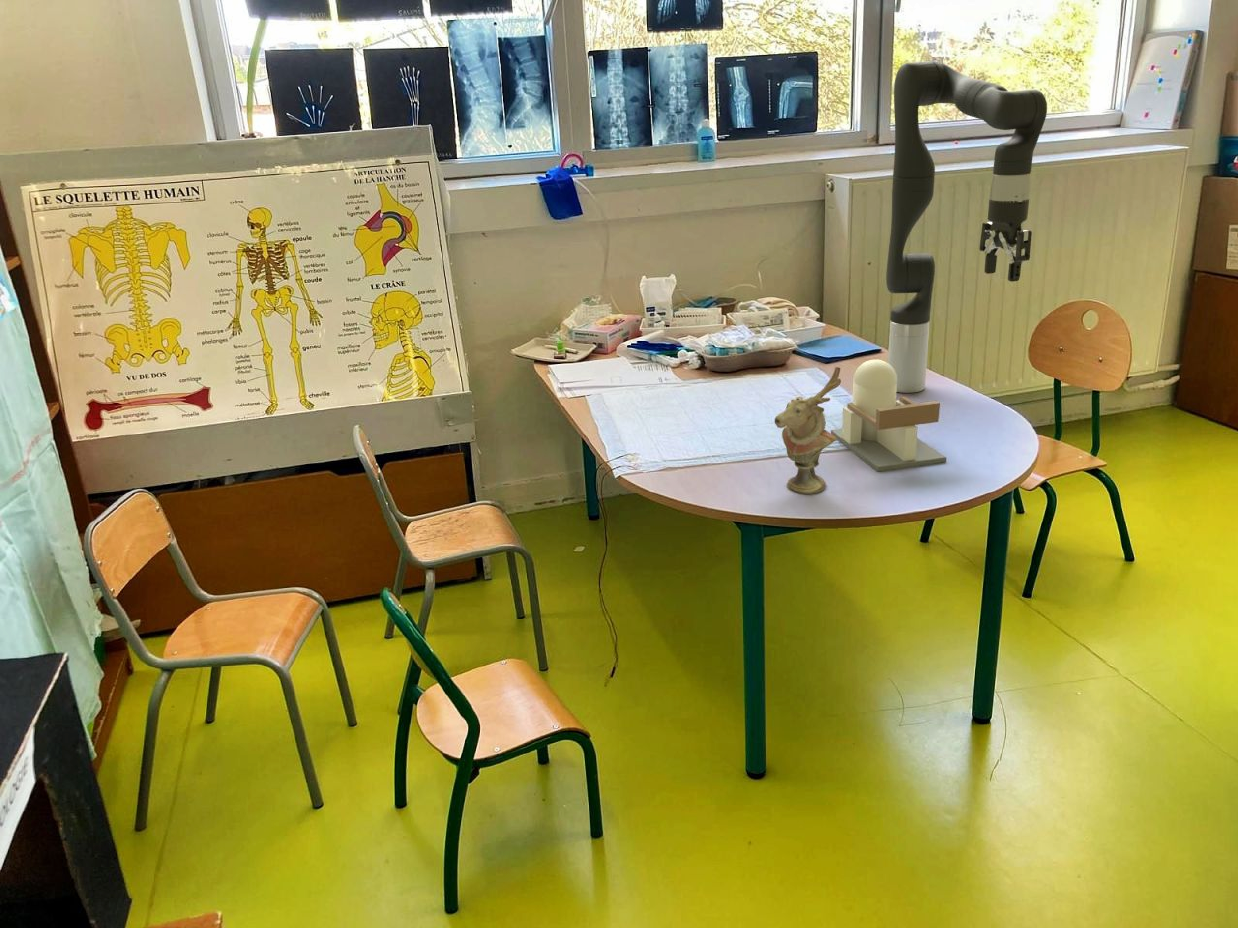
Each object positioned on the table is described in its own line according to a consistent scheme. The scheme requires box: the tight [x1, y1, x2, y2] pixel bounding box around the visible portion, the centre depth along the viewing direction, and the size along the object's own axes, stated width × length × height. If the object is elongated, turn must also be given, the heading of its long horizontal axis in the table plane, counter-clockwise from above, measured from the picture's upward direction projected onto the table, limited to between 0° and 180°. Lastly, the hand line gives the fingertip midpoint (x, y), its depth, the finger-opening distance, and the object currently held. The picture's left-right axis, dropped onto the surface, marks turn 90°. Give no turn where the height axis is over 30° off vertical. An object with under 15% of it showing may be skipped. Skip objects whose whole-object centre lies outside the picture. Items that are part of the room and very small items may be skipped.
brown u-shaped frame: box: [846, 395, 941, 430], centre depth 191 cm, size 14×13×4 cm
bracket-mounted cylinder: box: [830, 359, 947, 472], centre depth 194 cm, size 22×15×18 cm, turn 12°
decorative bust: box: [774, 366, 842, 495], centre depth 175 cm, size 11×13×25 cm
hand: (1001, 277), depth 193 cm, fingers open, 8 cm apart
